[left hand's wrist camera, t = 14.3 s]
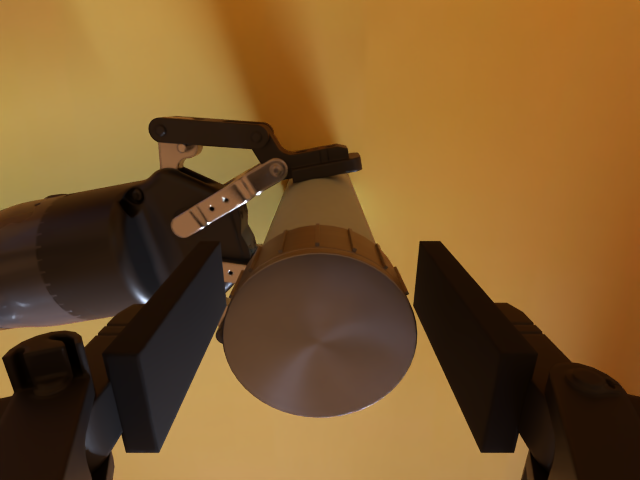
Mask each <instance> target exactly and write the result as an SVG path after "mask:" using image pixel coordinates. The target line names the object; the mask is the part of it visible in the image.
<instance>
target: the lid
mask: <svg viewBox="0 0 640 480" xmlns="http://www.w3.org/2000/svg"><path fill="white" fill-rule="evenodd" d="M408 294H409V293H408V291H407V289H406V286H405V284H404V282H403V280H402V278H401V276H400V274H399V272H398V269H397V267H396V266H395V267H393V265H392V264H391V262H390V260H389V259H388V257H387V256H386V255H385V254H384V253H383V251H382V250H381V248H380V246H379V245H378V244H376V245H375V244H374V243H373V242H371V241H370V240H368V239H367V238H365V237H364V236H362V235H360V234H358V233H356V232H353V231H352V229H350V228H349V229H345V228H341V227H336V226H328V225H319V223H316V225H310V226H304V227H298V228H295V229H292V230H288V231H287V229H286V230H284V231H283V233H282V234H279V235H277V236H276V237H274V238H273V239H271V240H269V241H268V242H267V243H265V244H264V245H263V246H262V247H261V246H259V247H258V248H257V250H256V252H255V254H254V255H253V257H252V258H251V260H250V261H249V262H248V264H247V266H246V268H245V270H241V272H240V274H239V277H238V279H237V281H236V283H235V285H234V287H233V289H232V291H231V294H230V296H229V298H231V301H230V303H229V305H228V308H227V311H226V314H225V317H224V322H223V328H222V341H223V347H224V352H225V355H226V359H227V362H228V364H229V366H230V368H231V370H232V372H233V373H234V375H235V376H236V378H237V379H238V381H239V382H240V383H241V384H242V385H243V386H244V387H245V389H247V390H248V391H249V392H250V393H251V394H252V395H253V396H255V397H256V398H258V399H259V400H261V401H262V402H264V403H265V404H267V405H269V406H271V407H273V408H276V409H278V410H281V411H283V412H286V413H290V414H294V415H299V416H304V417H317V418H319V417H334V416H341V415H345V414H350V413H353V412H356V411H359V410H362V409H364V408H366V407H368V406H370V405H372V404H374V403H376V402H377V401H379V400H380V399H382V398H383V397H384V396H386V395H387V394H388V393H389V392H391V391H392V390H393V389H394V388H395V387H396V386H397V385H398V383H399V382H400V381H401V379H402V378H403V377H404V375H405V374H406V372H407V370H408V368H409V367H410V365H411V362H412V359H413V357H414V353H415V349H416V344H417V327H416V320H415V316H414V312H413V310H412V307H411V305H410V303H409V300H408V298H407V296H406V295H408Z"/></svg>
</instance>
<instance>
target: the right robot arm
mask: <svg viewBox="0 0 640 480" xmlns="http://www.w3.org/2000/svg"><path fill="white" fill-rule="evenodd" d="M149 133H150V135H151V137H152V138H153V139H154V140H155V141H157V142H158V145H159V157H160V170H158V171H156V172H155V173H153V174H152V175H151V176H150V177H149V178H148V179H146V180H142V181H137V182H132V183H126V184H121V185H115V186H110V187H105V188H99V189H94V190H89V191H83V192H78V193H73V194H58V195H51V196H48V197H46V198H45V199H41V200H35V201H31V202H26V203H22V204H18V205H15V206H12V207H9V208H6V209H4V210H1V211H0V330H6V329H12V328H20V327H47V326H57V325H64V324H70V323H76V322H82V321H88V320H94V319H100V318H106V317H113V316H115V315H116V314H117V313H119V312H121V311H122V310H124V309H126V308H127V307H129V306H131V305H133V304H145V303H146V302H147V301H148V300H149V299H150V298H151V297H152V295H153V294H154V293H155V292H156V291H157V290H158V289H159V287H160V286H161V285H162V284H163V283H164V282H165V280H166V279H167V278H168V277H169V276H170V275H171V274H172V272H173V271H174V270H175V269H176V268H177V267H178V266H179V264H180V263H181V262H182V261H183V260H184V259H185V258H186V256H187V255H188V254H189V253H190V252H191V251H192V249H193V248H194V247H195V246H196V245H197V244H198V243H199V241H220V244H221V254H222V264H223V274H224V284H225V293H226V292H227V291H228V290H229V289H230V288H231V287H232V286H233V285H234V284H235V283H236V281H237V279H238V277H239V274H240V272H241V270H245V268H246V266H247V264H248V262H249V261H250V260H251V258H252V257H253V255H254V254H255V252H256V250H257V248H258V247H259V246H261V247H262V246H263V245H262V244H256V241H255V237H254V234H253V232H252V231H251V229H250V227H249V225H248V210H247V206H246V202H248V201H249V200H251V199H252V198H253V197H255V196H256V195H258V194H259V193H261V192H263V191H264V190H266V189H268V188H270V187H271V186H273V185H275V184H276V183H278V182H280V181H282V180H286V179H291V178H292V179H293V183H296V182H301V181H307V180H311V179H318V178H323V177H329V176H334V175H340V174H345V173H350V172H356V171H359V170H361V169H362V165H361V158H360V155H359V154H358V153H348V148H347V147H346V146H345V145H340V144H332V145H327V146H321V147H316V148H311V149H305V150H300V151H294V152H291V151H287V150H285V149H284V148H283V147H282V146H281V145H280V143H279V142H278V140H277V138H276V137H275V135H274V131H273V128H272V127H271V126H270V125H269V124H267V123H264V122H251V121H238V120H224V119H210V118H196V117H182V116H172V117H161V118H155V119H153V120H152V121H151V122H150V124H149ZM203 146H215V147H229V148H243V149H252V150H253V152H254V153H255V155H256V156H257V158H258V160H259V161H260V163H259V164H257V165H256V166H254V167H252V168H251V169H248V170H247V171H245V172H243V173H242V174H240V175H238V176H237V177H235V178H233V179H231V180H230V181H228V182H226V183H225V184H220V183H218V182H216V181H214V180H212V179H209V178H207V177H205V176H203V175H201V174H198V173H196V172H194V171H192V170H190V169H187V168H185V167H183V163H184V161H185V159H186V158H191V157H194V156H196V155H198V154H200V153H201V151H202V149H203ZM230 301H231V299H230V298H227V297H226V304H227V306H226V308H225V311H224V313H223V315H222V317H221V319H220V321H219V324H218V326H219V328H218V330H217V332H216V338H217V340H218V341H219V342H220V343H222V344H223V341H222V328H223V322H224V317H225V314H226V311H227V308H228V305H229V303H230Z"/></svg>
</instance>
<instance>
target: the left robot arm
mask: <svg viewBox="0 0 640 480" xmlns="http://www.w3.org/2000/svg"><path fill="white" fill-rule="evenodd" d="M226 306H227V304H226V294H225V284H224V274H223V264H222V254H221V244H220V241H199V243H198V244H197V245H196V246H195V247H194V248H193V249H192V251H191V252H190V253H189V254H188V255H187V256H186V258H185V259H184V260H183V261H182V262H181V263H180V264H179V266H178V267H177V268H176V269H175V270H174V271H173V272H172V274H171V275H170V276H169V277H168V278H167V279H166V280H165V282H164V283H163V284H162V285H161V286H160V287H159V289H158V290H157V291H156V292H155V293H154V294H153V295H152V297H151V298H150V299H149V300H148V301H147V302H146V303H145V304H133V305H131V306H129V307H127V308H126V309H124V310H122V311H121V312H119V313H117V314H116V315H115V316H114V317H113V318H112V319H111V320H110V322H109V323H108V324H107V326H105V327H104V328H103V329H102V330H101V331H100V332H99V333H98V336H95V337H94V338H93V339H92V340H91V341H90V342H89V343H88V344H87V345H86V346H85V347H84V345H83V341H82V337H81V336H80V335H79V334H77V333H76V332H71V331H56V332H49V333H46V334H42V335H38V336H35V337H33V338H30V339H28V340H26V341H23V342H21V343H20V344H18V345H16V346H15V347H13V348H12V349H10V350H9V351H8V352H7V353H6V354H5V355H4V356H3V357H2V359H3V362H4V365H5V368H6V371H7V373H8V376H9V379H10V382H11V384H12V387H13V390H14V394H13V396H10V397H5V398H0V480H113V473H114V460H113V455H112V451H111V450H112V449H113V447H114V445H115V444H116V442H117V440H118V439H119V437H120V435H121V434H122V438H123V443H124V447H125V451H126V453H159V452H160V449H161V447H162V445H163V443H164V441H165V439H166V436H167V434H168V432H169V430H170V428H171V426H172V423H173V421H174V419H175V417H176V415H177V413H178V410H179V408H180V406H181V404H182V402H183V400H184V397H185V395H186V393H187V391H188V389H189V387H190V384H191V382H192V380H193V378H194V376H195V373H196V371H197V369H198V367H199V365H200V363H201V360H202V358H203V356H204V354H205V352H206V350H207V347H208V345H209V343H210V341H211V339H212V337H213V334H214V332H215V330H216V328H217V326H218V324H219V321H220V319H221V317H222V315H223V313H224V311H225V308H226ZM413 306H414V308H415V311H416V313H417V315H418V317H419V319H420V321H421V324H422V326H423V328H424V330H425V332H426V334H427V337H428V339H429V341H430V343H431V345H432V347H433V350H434V352H435V354H436V356H437V358H438V360H439V363H440V365H441V367H442V369H443V371H444V373H445V376H446V378H447V380H448V382H449V384H450V387H451V389H452V391H453V393H454V395H455V397H456V400H457V402H458V404H459V406H460V408H461V410H462V413H463V415H464V417H465V419H466V421H467V423H468V426H469V428H470V430H471V432H472V434H473V436H474V439H475V441H476V443H477V445H478V447H479V449H480V452H481V453H514V451H515V447H516V443H517V438H518V434H519V433H520V435H521V437H522V438H523V440H524V442H525V443H526V445H527V447H528V448H529V451H528V455H527V459H526V463H525V467H524V470H523V474H522V478H521V480H640V397H638V396H634V395H629V394H627V393H626V391H625V390H624V389H623V388H622V386H621V385H620V384H619V383H618V382H617V381H615V380H614V379H613V378H611V377H610V376H609V375H607V374H605V373H603V372H601V371H599V370H597V369H595V368H593V367H589V366H586V365H583V364H579V363H572V362H571V361H570V360H569V359H568V358H567V357H566V356H565V355H564V354H563V353H562V352H561V351H560V350H559V349H558V348H557V347H556V346H555V345H554V344H553V343H552V342H551V340H550V339H549V338H548V337H547V336H546V335H545V334H542V331H541V330H540V329H539V328H538V327H537V326H536V325H533V322H532V321H531V320H530V319H529V318H528V317H527V316H526V315H525V314H524V313H523V312H522V311H520V310H518V309H517V308H515V307H513V306H512V305H510V304H508V303H494V302H493V301H492V300H491V299H490V298H489V297H488V295H487V294H486V293H485V292H484V291H483V290H482V289H481V287H480V286H479V285H478V284H477V283H476V282H475V280H474V279H473V278H472V277H471V276H470V275H469V274H468V272H467V271H466V270H465V269H464V268H463V267H462V266H461V264H460V263H459V262H458V261H457V260H456V259H455V258H454V256H453V255H452V254H451V253H450V252H449V251H448V249H447V248H446V247H445V246H444V245H443V244H442V243H441V241H420V244H419V254H418V264H417V274H416V284H415V294H414V304H413Z"/></svg>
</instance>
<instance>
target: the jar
mask: <svg viewBox="0 0 640 480" xmlns="http://www.w3.org/2000/svg"><path fill="white" fill-rule="evenodd" d="M316 223H319V225H328V226H336V227H341V228H345V229H349V228H350V229H352V231H353V232H356V233H358V234H360V235H362V236H364V237H365V238H367V239H368V240H370V241H371V242H373V243H374V244H375V245H376V243H375V240H374V238H373V235H372V233H371V230H370V228H369V225H368V223H367V220H366V218H365V215H364V213H363V210H362V208H361V205H360V203H359V200H358V198H357V195H356V193H355V190H354V188H353V185H352V183H351V180H350V178H349V176H348V174H347V173H345V174H340V175H334V176H329V177H323V178H318V179H311V180H307V181H301V182H296V183H293V179H292V178H291V179H289V181H288V184H287V186H286V189H285V191H284V194H283V196H282V199H281V201H280V204H279V206H278V209H277V211H276V214H275V216H274V219H273V221H272V224H271V226H270V229H269V231H268V234H267V236H266V239H265V241H264V244H265V243H267V242H268V241H269V240H271V239H273V238H274V237H276V236H277V235H279V234H282V233H283V231H284V230H286V229H287V231H288V230H292V229H295V228H298V227H304V226H310V225H316ZM264 244H263V245H264Z"/></svg>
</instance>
